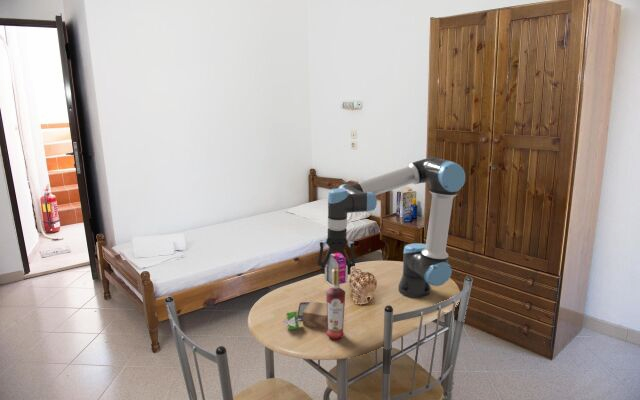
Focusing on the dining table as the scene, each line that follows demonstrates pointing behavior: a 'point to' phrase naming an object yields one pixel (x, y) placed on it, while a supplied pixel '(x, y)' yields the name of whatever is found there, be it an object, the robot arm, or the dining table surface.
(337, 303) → the liquor
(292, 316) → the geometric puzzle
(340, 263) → the supplement box
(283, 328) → the dining table surface
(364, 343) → the dining table surface
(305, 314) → the walnut pedestal block
